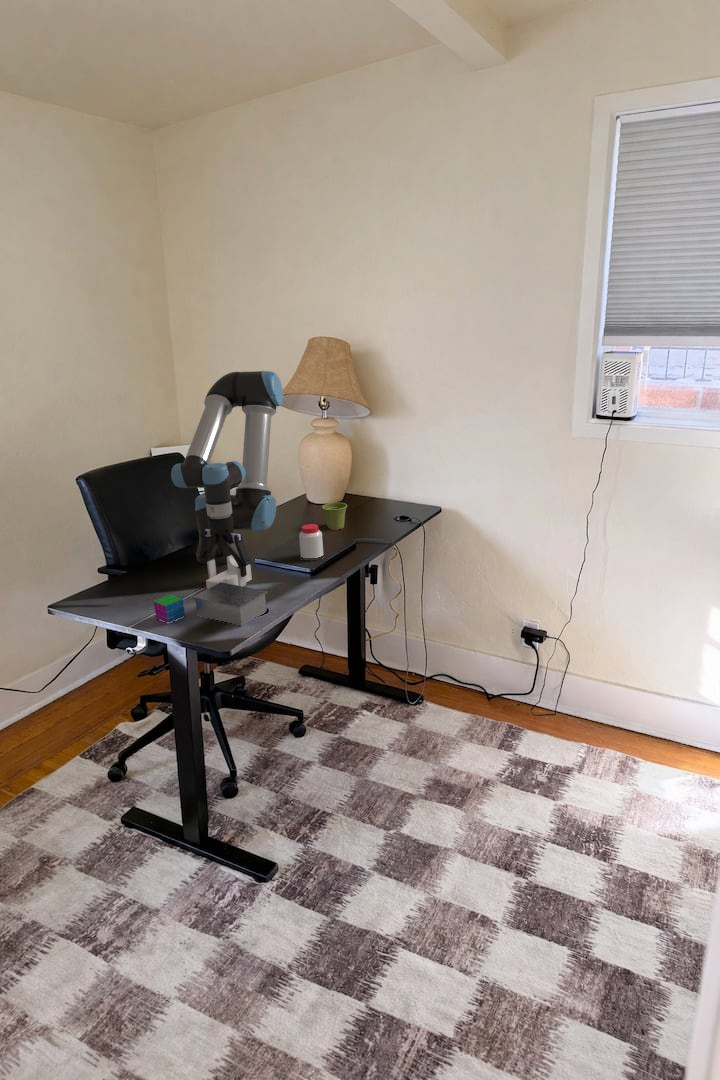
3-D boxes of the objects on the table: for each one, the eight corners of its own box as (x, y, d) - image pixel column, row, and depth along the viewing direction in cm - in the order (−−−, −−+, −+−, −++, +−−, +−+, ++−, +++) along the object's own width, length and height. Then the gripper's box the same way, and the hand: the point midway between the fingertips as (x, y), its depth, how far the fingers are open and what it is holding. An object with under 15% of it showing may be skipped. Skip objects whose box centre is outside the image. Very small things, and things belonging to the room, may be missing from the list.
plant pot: (345, 531, 273) (344, 509, 270) (321, 531, 274) (319, 509, 272) (350, 524, 281) (349, 502, 279) (326, 524, 283) (324, 502, 280)
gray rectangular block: (194, 616, 206) (192, 597, 204) (222, 600, 216) (220, 582, 214) (242, 627, 198) (239, 607, 196) (269, 610, 207) (267, 591, 205)
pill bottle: (320, 561, 244) (318, 530, 240) (298, 561, 245) (295, 529, 242) (326, 553, 251) (324, 523, 247) (304, 553, 252) (302, 522, 249)
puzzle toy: (185, 617, 206) (182, 598, 204) (168, 624, 202) (165, 605, 200) (173, 613, 209) (170, 594, 208) (156, 620, 205) (153, 601, 204)
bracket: (234, 576, 235) (232, 554, 232) (251, 580, 231) (249, 557, 229) (207, 591, 224) (204, 568, 222) (225, 594, 221) (222, 571, 218)
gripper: (182, 514, 222) (191, 581, 229) (242, 523, 211) (249, 593, 218) (199, 508, 228) (207, 573, 235) (258, 516, 217) (265, 584, 224)
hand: (227, 583), depth 227 cm, fingers open, 11 cm apart
